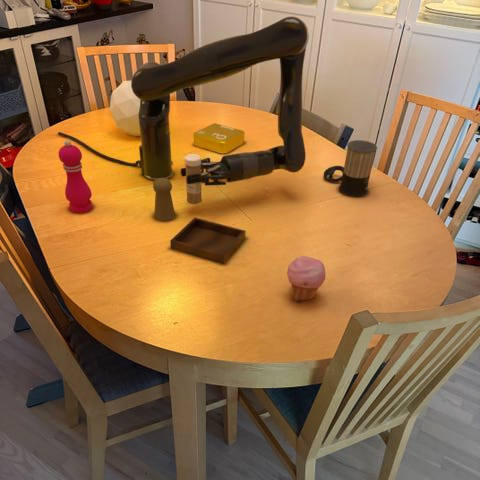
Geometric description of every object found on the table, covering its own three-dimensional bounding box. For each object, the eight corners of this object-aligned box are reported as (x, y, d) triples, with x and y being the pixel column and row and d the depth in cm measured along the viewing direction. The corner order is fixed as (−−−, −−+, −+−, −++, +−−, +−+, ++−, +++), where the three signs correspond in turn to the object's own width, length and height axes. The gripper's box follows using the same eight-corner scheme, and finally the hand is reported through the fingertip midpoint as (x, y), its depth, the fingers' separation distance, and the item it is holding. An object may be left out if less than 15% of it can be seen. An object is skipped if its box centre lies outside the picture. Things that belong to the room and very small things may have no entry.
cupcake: (283, 283, 114) (288, 248, 107) (319, 285, 114) (325, 250, 107) (285, 306, 107) (290, 271, 101) (323, 308, 107) (330, 273, 101)
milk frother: (364, 199, 148) (375, 153, 138) (316, 190, 152) (323, 144, 142) (371, 181, 158) (381, 137, 148) (325, 173, 162) (332, 129, 152)
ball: (131, 147, 190) (120, 96, 188) (175, 133, 184) (165, 80, 181) (105, 137, 172) (93, 81, 170) (153, 122, 166) (141, 63, 164)
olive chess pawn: (171, 222, 133) (169, 186, 126) (151, 219, 134) (147, 183, 127) (177, 212, 138) (175, 176, 131) (158, 209, 139) (155, 174, 131)
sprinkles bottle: (183, 201, 137) (180, 156, 128) (194, 196, 139) (192, 151, 130) (194, 206, 135) (192, 161, 126) (205, 201, 137) (204, 156, 128)
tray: (170, 248, 123) (170, 240, 122) (195, 225, 133) (194, 217, 131) (223, 264, 119) (224, 255, 117) (245, 238, 128) (245, 230, 127)
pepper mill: (98, 204, 140) (86, 137, 126) (85, 215, 134) (70, 147, 121) (77, 200, 141) (63, 133, 128) (63, 211, 136) (47, 142, 123)
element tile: (246, 142, 180) (246, 129, 177) (224, 155, 170) (224, 141, 167) (214, 133, 186) (214, 121, 183) (191, 145, 176) (191, 132, 173)
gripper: (230, 145, 138) (174, 153, 133) (250, 164, 129) (191, 174, 123) (230, 169, 143) (176, 178, 138) (249, 189, 134) (193, 200, 128)
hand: (184, 176), depth 131 cm, fingers closed on sprinkles bottle, 4 cm apart
